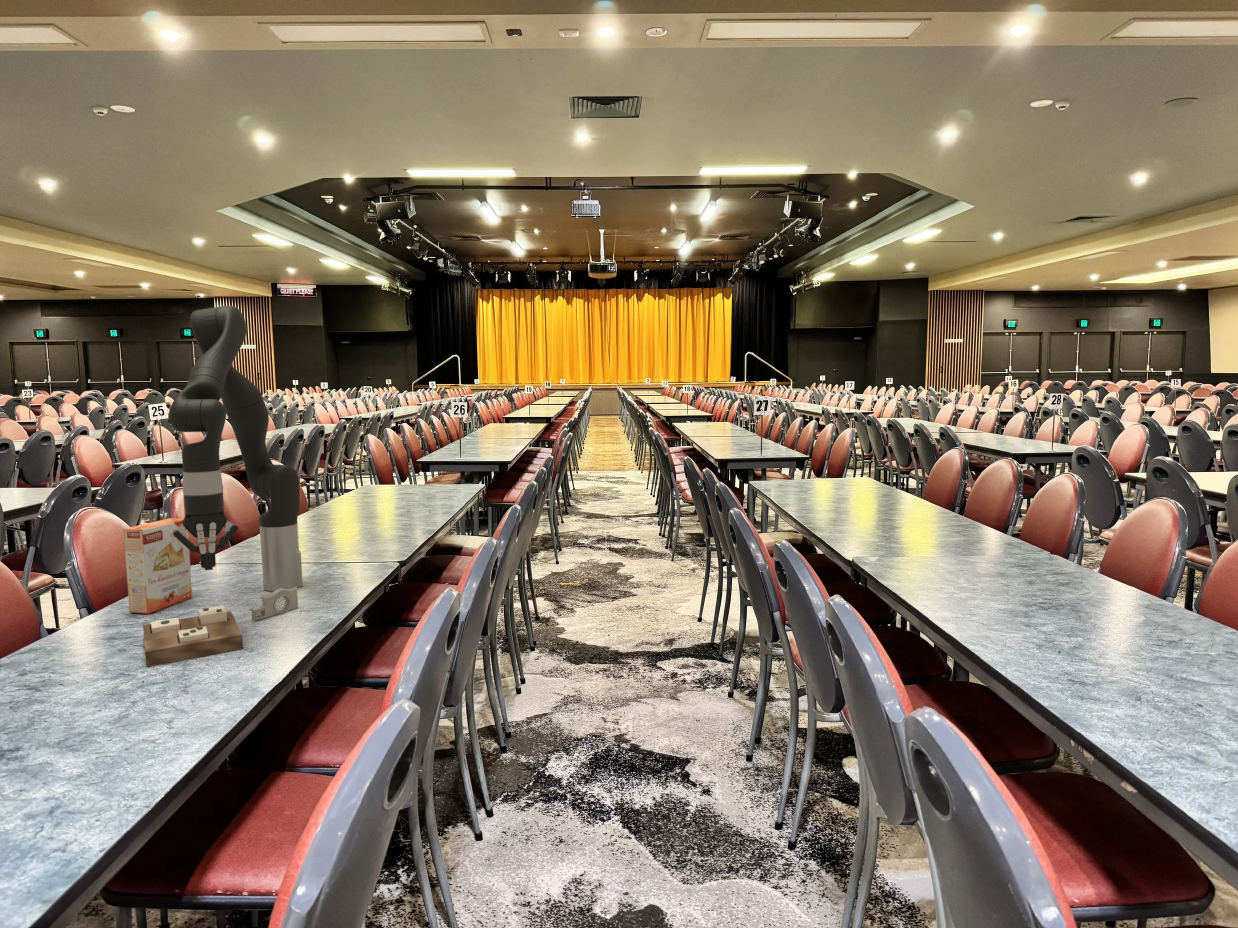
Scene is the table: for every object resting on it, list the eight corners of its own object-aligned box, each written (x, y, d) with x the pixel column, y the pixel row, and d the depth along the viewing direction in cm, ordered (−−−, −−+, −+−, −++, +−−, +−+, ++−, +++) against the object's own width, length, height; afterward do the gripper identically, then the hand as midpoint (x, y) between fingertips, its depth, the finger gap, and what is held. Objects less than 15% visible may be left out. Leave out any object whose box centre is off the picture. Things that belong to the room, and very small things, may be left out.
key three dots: (206, 642, 155) (205, 624, 155) (209, 649, 151) (207, 631, 151) (179, 646, 152) (178, 629, 152) (181, 654, 148) (179, 636, 148)
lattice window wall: (254, 622, 169) (253, 597, 169) (250, 620, 170) (248, 596, 170) (299, 607, 180) (298, 584, 179) (295, 606, 181) (293, 583, 180)
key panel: (231, 623, 168) (231, 610, 168) (243, 648, 153) (242, 634, 152) (144, 638, 159) (142, 625, 159) (146, 666, 143) (145, 651, 143)
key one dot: (179, 632, 161) (177, 616, 160) (180, 639, 157) (179, 622, 156) (152, 637, 158) (150, 620, 158) (153, 644, 154) (151, 626, 153)
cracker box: (149, 614, 175) (142, 529, 172) (128, 613, 176) (121, 528, 174) (194, 597, 188) (188, 517, 186) (174, 596, 190) (168, 517, 187)
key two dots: (225, 620, 166) (223, 604, 165) (227, 626, 162) (226, 610, 161) (199, 624, 163) (198, 608, 162) (201, 631, 159) (200, 614, 158)
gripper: (235, 486, 166) (239, 561, 167) (166, 491, 158) (172, 570, 160) (239, 490, 159) (244, 568, 161) (168, 496, 152) (174, 577, 154)
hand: (208, 569), depth 161 cm, fingers closed
